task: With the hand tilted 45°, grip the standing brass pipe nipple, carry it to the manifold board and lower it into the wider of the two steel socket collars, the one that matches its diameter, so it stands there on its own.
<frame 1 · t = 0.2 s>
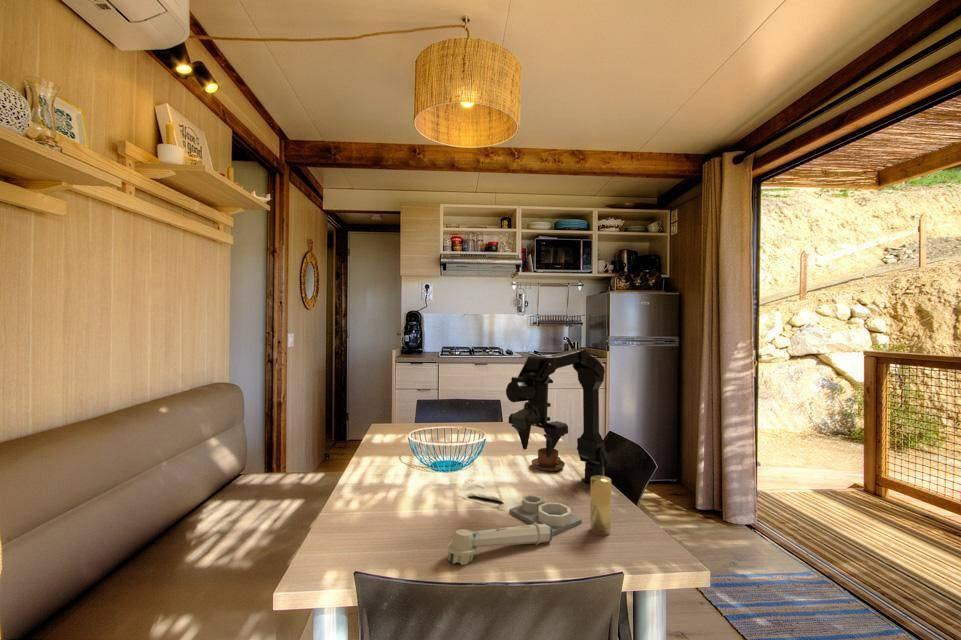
hand: (536, 453, 124), 14 cm above the table, tool pointing down, fingers open, 9 cm apart
cloth: (479, 496, 130), on the table
cream long-handled tool: (501, 552, 98), on the table
manifold board: (544, 517, 114), on the table
cup and saucer: (547, 468, 155), on the table
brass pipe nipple: (600, 530, 107), on the table
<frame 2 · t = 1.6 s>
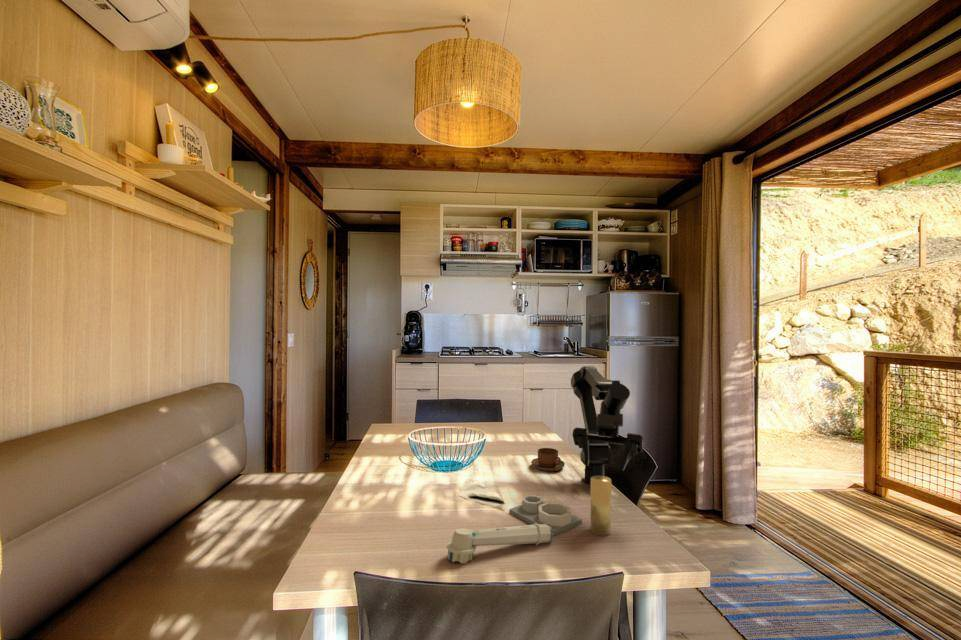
hand: (604, 467, 115), 13 cm above the table, tool tilted 45°, fingers open, 9 cm apart
nothing on the table moved.
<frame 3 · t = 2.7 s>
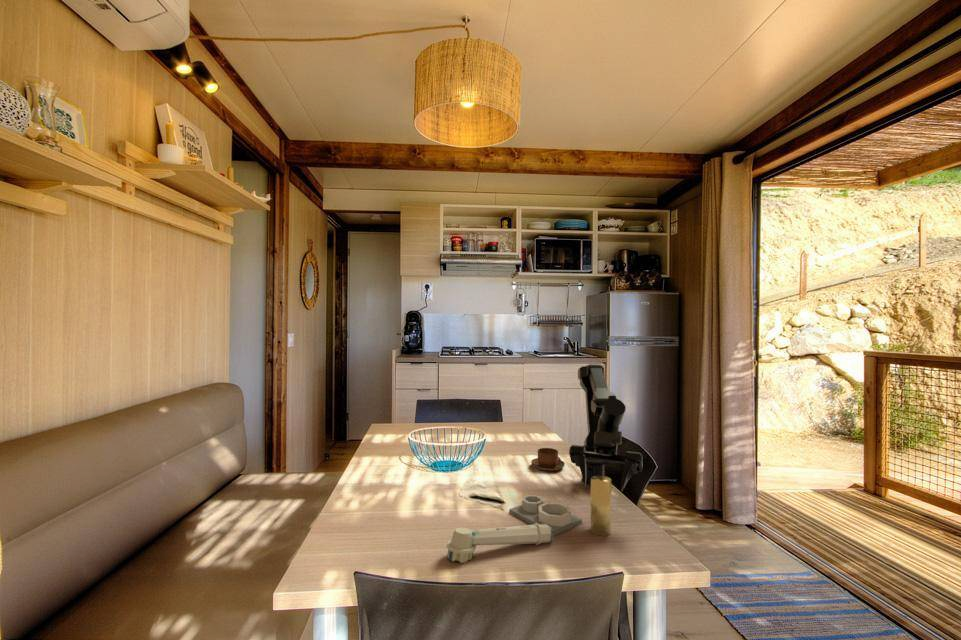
hand: (602, 487, 110), 10 cm above the table, tool tilted 45°, fingers open, 9 cm apart
nothing on the table moved.
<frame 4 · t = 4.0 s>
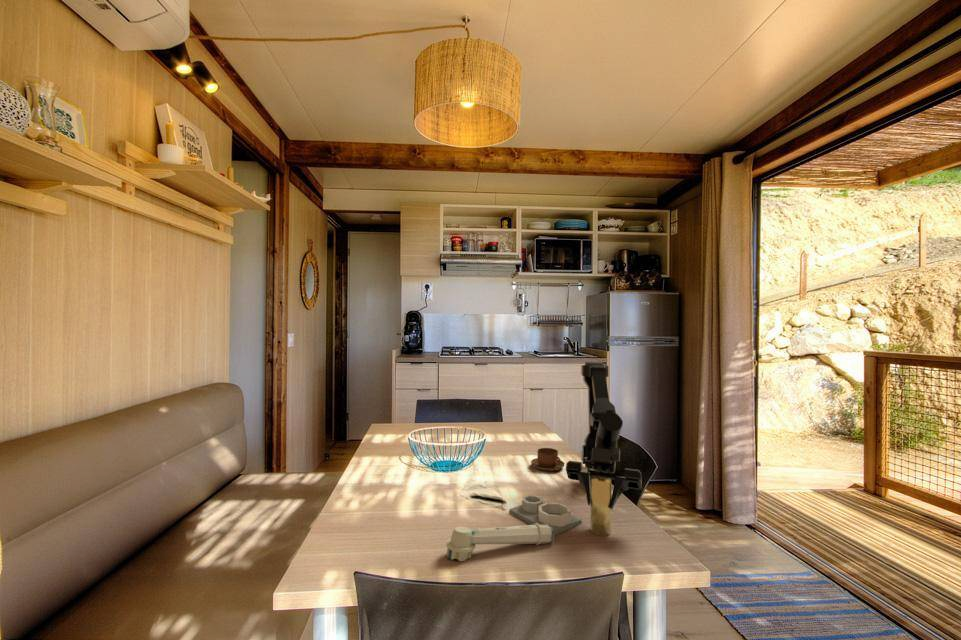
hand: (600, 506, 106), 7 cm above the table, tool tilted 45°, fingers closed on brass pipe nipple, 5 cm apart
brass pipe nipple: (600, 530, 107), on the table, touching gripper
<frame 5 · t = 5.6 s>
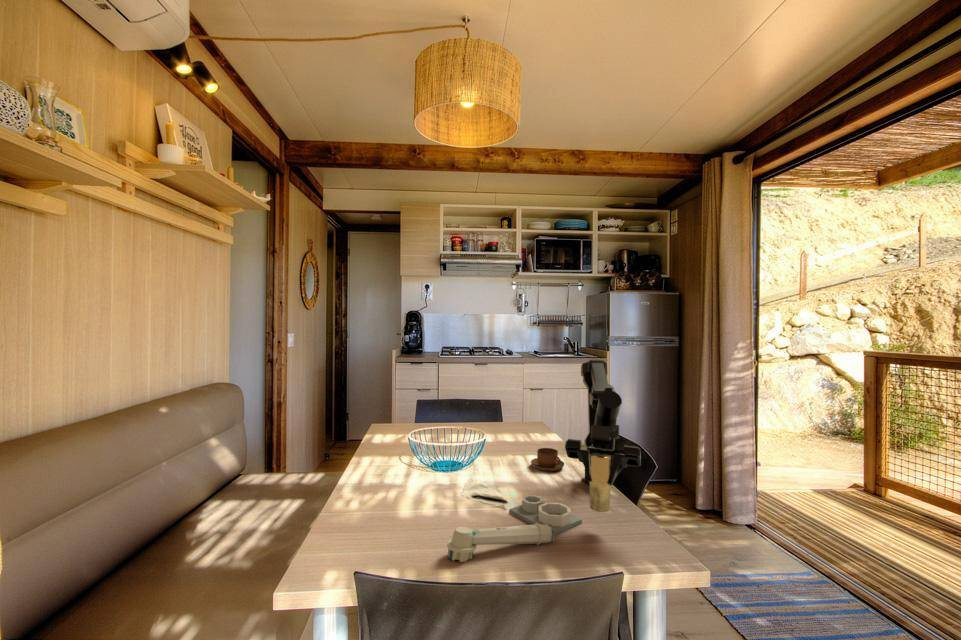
hand: (599, 483, 106), 12 cm above the table, tool tilted 45°, fingers closed on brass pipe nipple, 5 cm apart
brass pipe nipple: (599, 507, 108), point 6 cm above the table, touching gripper
when the fingers open (9 cm above the table, at t = 7.7 s): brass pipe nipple drops 1 cm, resting on manifold board.
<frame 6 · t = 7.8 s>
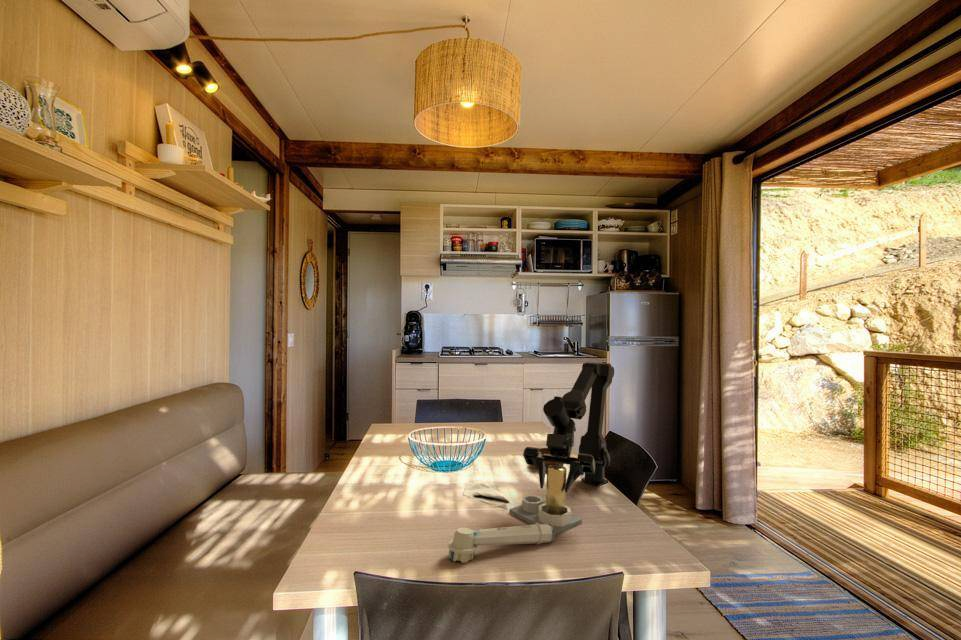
hand: (553, 489, 110), 9 cm above the table, tool tilted 45°, fingers open, 6 cm apart
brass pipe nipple: (554, 518, 112), point 1 cm above the table, touching manifold board
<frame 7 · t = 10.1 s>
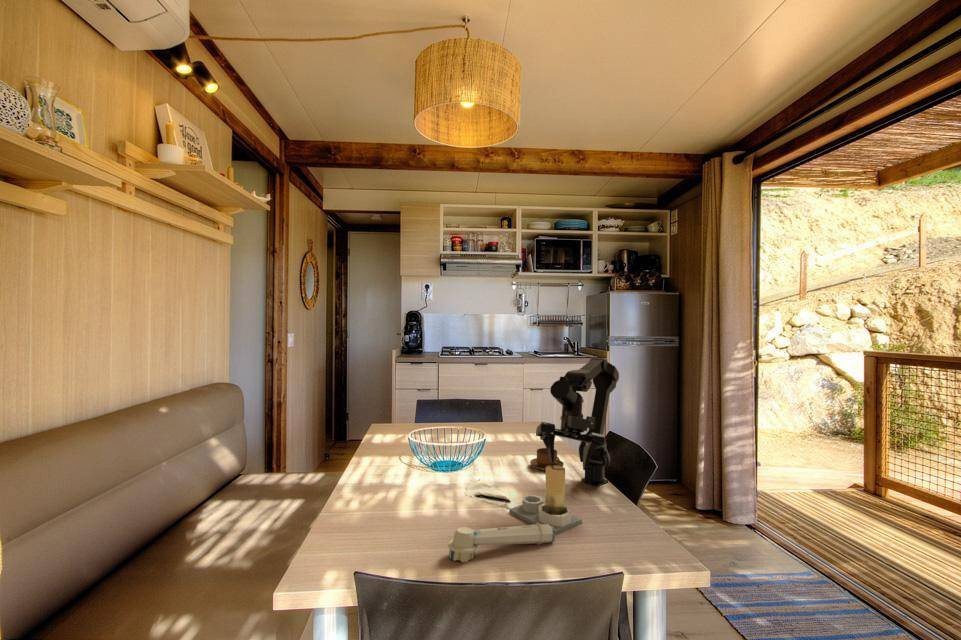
hand: (568, 466, 117), 13 cm above the table, tool tilted 30°, fingers open, 9 cm apart
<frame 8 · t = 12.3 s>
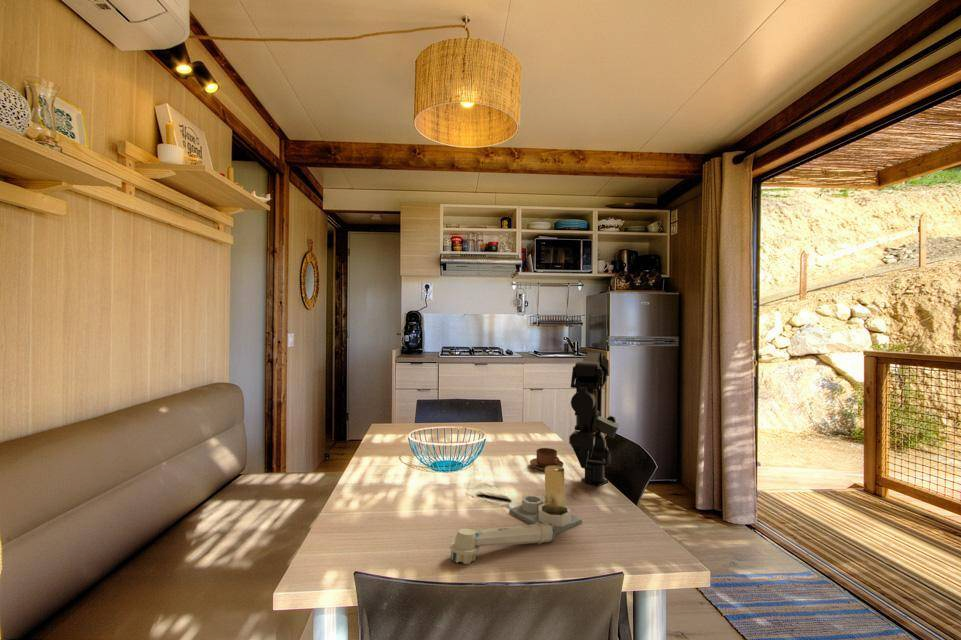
hand: (586, 463, 120), 13 cm above the table, tool pointing down, fingers open, 9 cm apart
at the end: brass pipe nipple 0.1 cm from the target spot on the manifold board, point 1.1 cm above the manifold board's base; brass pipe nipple tilted 2°; the gripper is holding nothing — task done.
